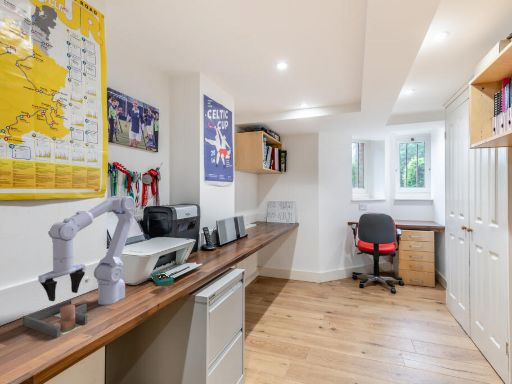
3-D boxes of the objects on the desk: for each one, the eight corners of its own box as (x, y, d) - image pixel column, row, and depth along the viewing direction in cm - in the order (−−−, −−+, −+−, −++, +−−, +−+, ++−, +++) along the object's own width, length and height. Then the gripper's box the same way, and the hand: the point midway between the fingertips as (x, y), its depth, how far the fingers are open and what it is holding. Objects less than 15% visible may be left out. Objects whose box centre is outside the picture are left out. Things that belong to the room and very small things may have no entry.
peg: (70, 324, 92) (70, 303, 92) (78, 326, 90) (77, 305, 90) (57, 330, 88) (57, 308, 88) (65, 332, 87) (65, 310, 87)
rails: (70, 307, 105) (70, 299, 105) (102, 316, 98) (102, 308, 98) (23, 325, 91) (22, 316, 91) (57, 338, 84) (57, 328, 84)
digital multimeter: (159, 287, 131) (159, 281, 131) (149, 278, 143) (149, 273, 143) (174, 284, 135) (174, 278, 135) (164, 276, 147) (164, 270, 147)
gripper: (76, 251, 103) (76, 287, 103) (32, 261, 90) (32, 302, 90) (89, 253, 100) (89, 290, 101) (45, 263, 87) (46, 306, 87)
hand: (63, 296), depth 95 cm, fingers open, 7 cm apart
